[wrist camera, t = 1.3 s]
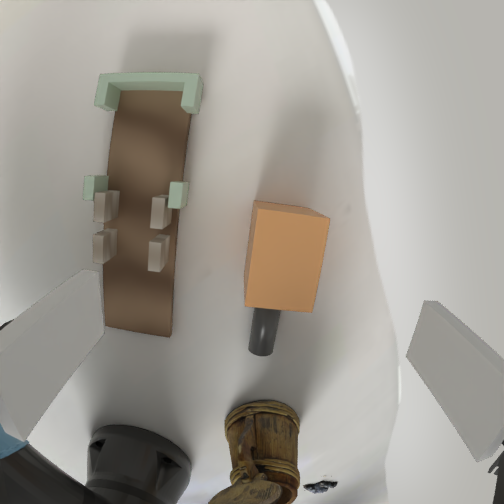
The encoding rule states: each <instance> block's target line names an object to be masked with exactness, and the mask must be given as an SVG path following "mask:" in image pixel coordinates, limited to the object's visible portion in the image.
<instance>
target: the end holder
mask: <svg viewBox="0 0 504 504" xmlns="http://www.w3.org/2000/svg"><path fill="white" fill-rule="evenodd" d="M121 90H162V91H183V95H182V101H181V107H182V108H183V109H184V110H185V111H186V112H187V113H193V114H199V108H200V102H201V96H202V90H203V82H202V79H201V77H200V75H199V74H196V73H171V72H136V73H111V74H100V77H99V81H98V86H97V91H96V96H95V101H94V105H95V106H97V107H99V108H102V109H104V110H106V111H117V110H118V104H119V99H120V93H121ZM108 180H109V176H104V175H93V176H84V189H83V200H91V201H94V199H95V192H101V191H108ZM188 190H189V182H183V181H174V182H170V190H169V200H168V208H176V209H181V208H183V207H185V206H186V205H187V200H188Z"/></svg>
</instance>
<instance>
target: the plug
mask: <svg viewBox="0 0 504 504" xmlns="http://www.w3.org/2000/svg"><path fill="white" fill-rule="evenodd" d="M329 223H330V218H328V217H326V216H324V215H322V214H320V213H318V212H316V211H314V210H312V209H310V208H304V207H297V206H290V205H283V204H276V203H269V202H262V201H254V203H253V211H252V218H251V226H250V233H249V241H248V249H247V256H246V264H245V271H244V298H245V306H247V307H255V308H254V315H253V322H252V328H251V335H250V342H249V351H250V352H251V353H253V354H255V355H258V356H268V355H271V354H272V352H273V348H274V342H275V337H276V332H277V327H278V321H279V316H280V310H287V311H298V312H310V313H312V311H313V306H314V302H315V297H316V292H317V287H318V282H319V277H320V272H321V267H322V262H323V257H324V251H325V246H326V240H327V235H328V229H329Z"/></svg>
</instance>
